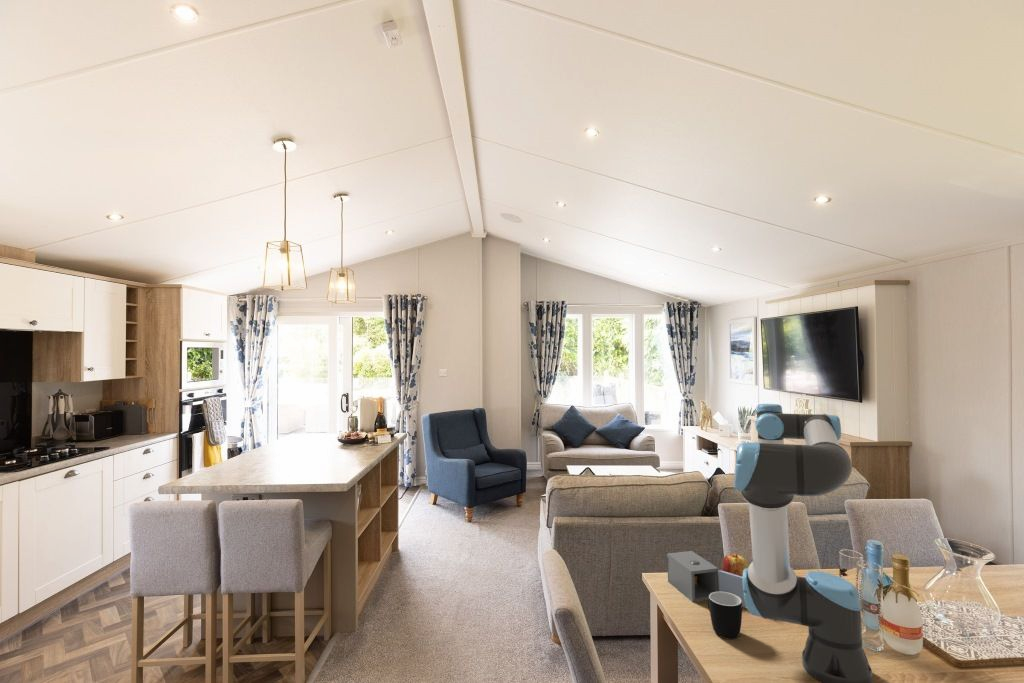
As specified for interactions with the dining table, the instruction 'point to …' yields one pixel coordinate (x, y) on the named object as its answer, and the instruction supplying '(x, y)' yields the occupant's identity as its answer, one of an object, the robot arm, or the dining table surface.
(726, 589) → the door
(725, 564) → the apple
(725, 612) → the mug
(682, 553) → the case
